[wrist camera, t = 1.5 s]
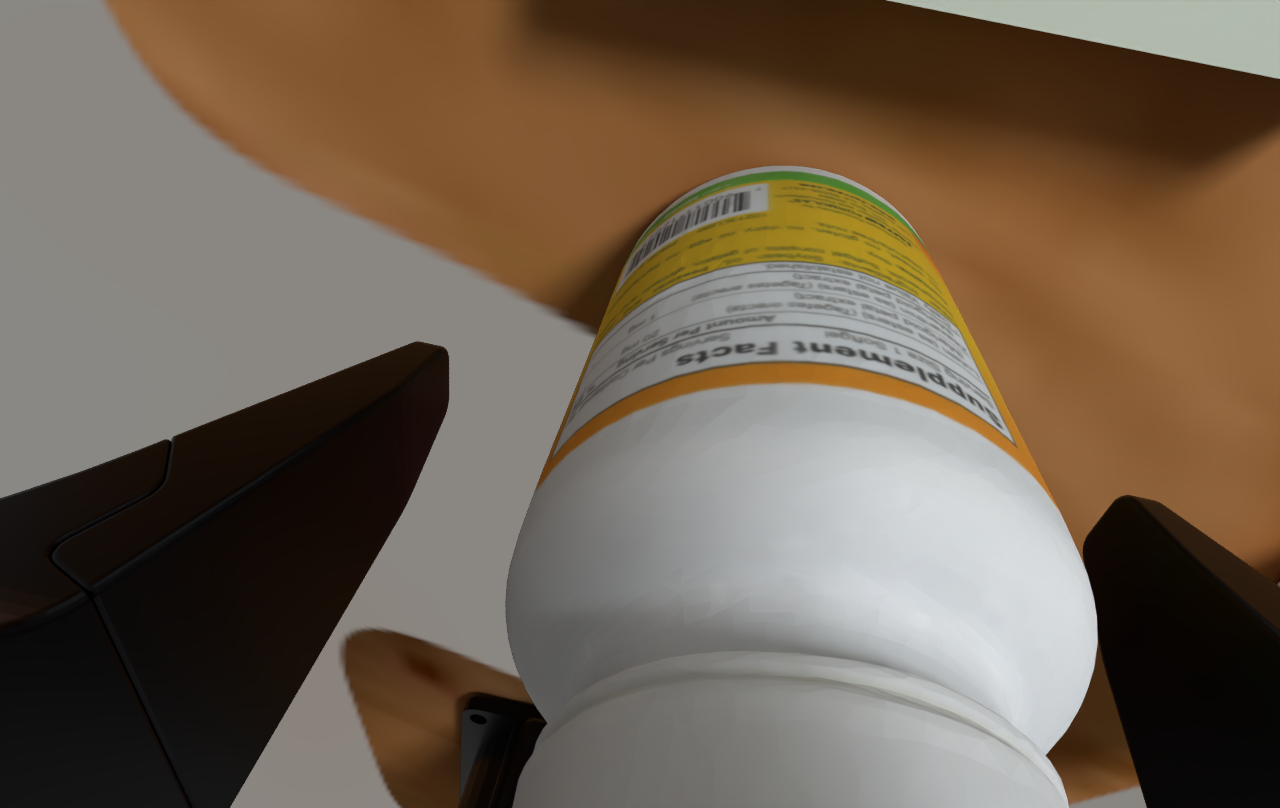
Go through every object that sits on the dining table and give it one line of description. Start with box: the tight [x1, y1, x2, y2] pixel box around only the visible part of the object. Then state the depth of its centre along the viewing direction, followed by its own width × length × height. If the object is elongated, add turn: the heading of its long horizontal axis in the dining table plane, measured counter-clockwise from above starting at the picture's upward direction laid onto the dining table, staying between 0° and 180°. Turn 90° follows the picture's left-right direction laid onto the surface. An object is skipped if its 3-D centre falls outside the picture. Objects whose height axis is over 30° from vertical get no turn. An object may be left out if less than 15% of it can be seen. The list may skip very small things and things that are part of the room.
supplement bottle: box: [506, 166, 1098, 808], centre depth 8 cm, size 5×5×10 cm
